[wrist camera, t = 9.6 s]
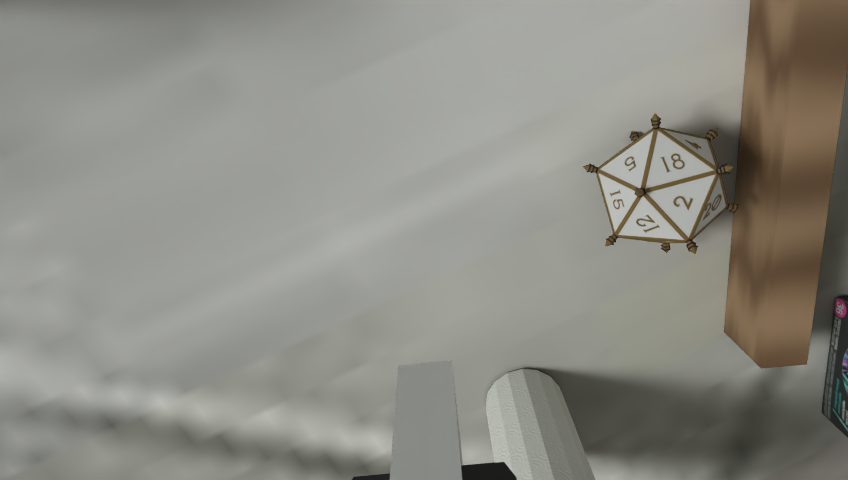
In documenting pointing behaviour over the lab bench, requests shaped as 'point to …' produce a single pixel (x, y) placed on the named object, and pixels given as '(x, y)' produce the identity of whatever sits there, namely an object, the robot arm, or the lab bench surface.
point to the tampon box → (838, 369)
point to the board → (784, 174)
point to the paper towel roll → (534, 428)
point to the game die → (663, 187)
